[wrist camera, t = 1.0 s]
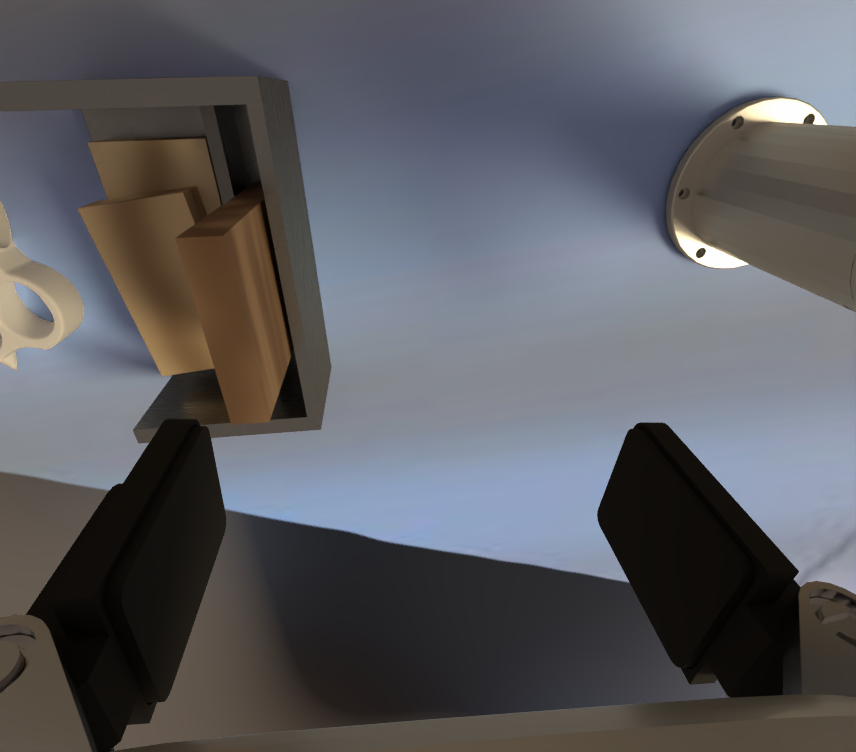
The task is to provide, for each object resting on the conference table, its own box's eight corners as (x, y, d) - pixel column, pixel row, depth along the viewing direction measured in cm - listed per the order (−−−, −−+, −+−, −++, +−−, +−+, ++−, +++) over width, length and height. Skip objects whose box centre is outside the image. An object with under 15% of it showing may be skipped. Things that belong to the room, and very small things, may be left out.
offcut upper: (196, 185, 30) (183, 192, 28) (255, 347, 36) (248, 362, 34) (98, 200, 30) (77, 208, 28) (174, 360, 36) (162, 376, 34)
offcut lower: (216, 135, 31) (205, 138, 29) (265, 348, 39) (259, 362, 37) (107, 139, 30) (87, 142, 28) (180, 353, 39) (169, 368, 37)
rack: (287, 81, 31) (257, 75, 23) (331, 367, 42) (320, 429, 34) (82, 86, 30) (-22, 82, 22) (183, 377, 41) (138, 443, 33)
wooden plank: (282, 181, 33) (222, 235, 20) (305, 312, 38) (269, 422, 25) (254, 182, 33) (175, 237, 20) (280, 314, 38) (231, 425, 25)
